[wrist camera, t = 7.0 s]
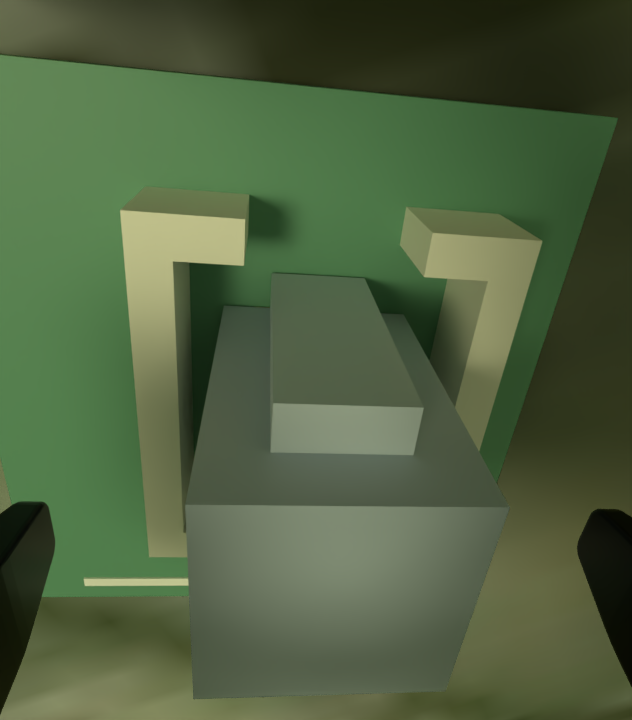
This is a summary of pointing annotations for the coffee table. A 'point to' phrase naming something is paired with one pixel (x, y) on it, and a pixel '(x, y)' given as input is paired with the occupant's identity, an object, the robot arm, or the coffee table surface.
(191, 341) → the board
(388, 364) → the plug
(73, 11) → the coffee table surface
